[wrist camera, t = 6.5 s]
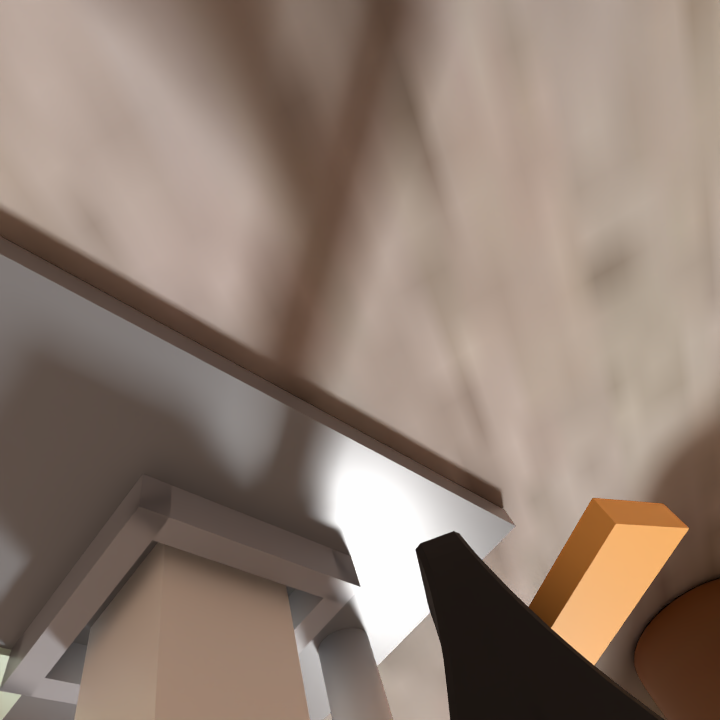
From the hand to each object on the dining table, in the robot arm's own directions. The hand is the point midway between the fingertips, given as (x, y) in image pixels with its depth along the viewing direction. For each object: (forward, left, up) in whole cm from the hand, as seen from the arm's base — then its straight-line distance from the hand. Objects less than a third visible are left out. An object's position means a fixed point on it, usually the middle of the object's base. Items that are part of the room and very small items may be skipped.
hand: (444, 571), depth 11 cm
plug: (-8, +1, -5) cm, 9 cm away
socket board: (-10, +2, -6) cm, 12 cm away
